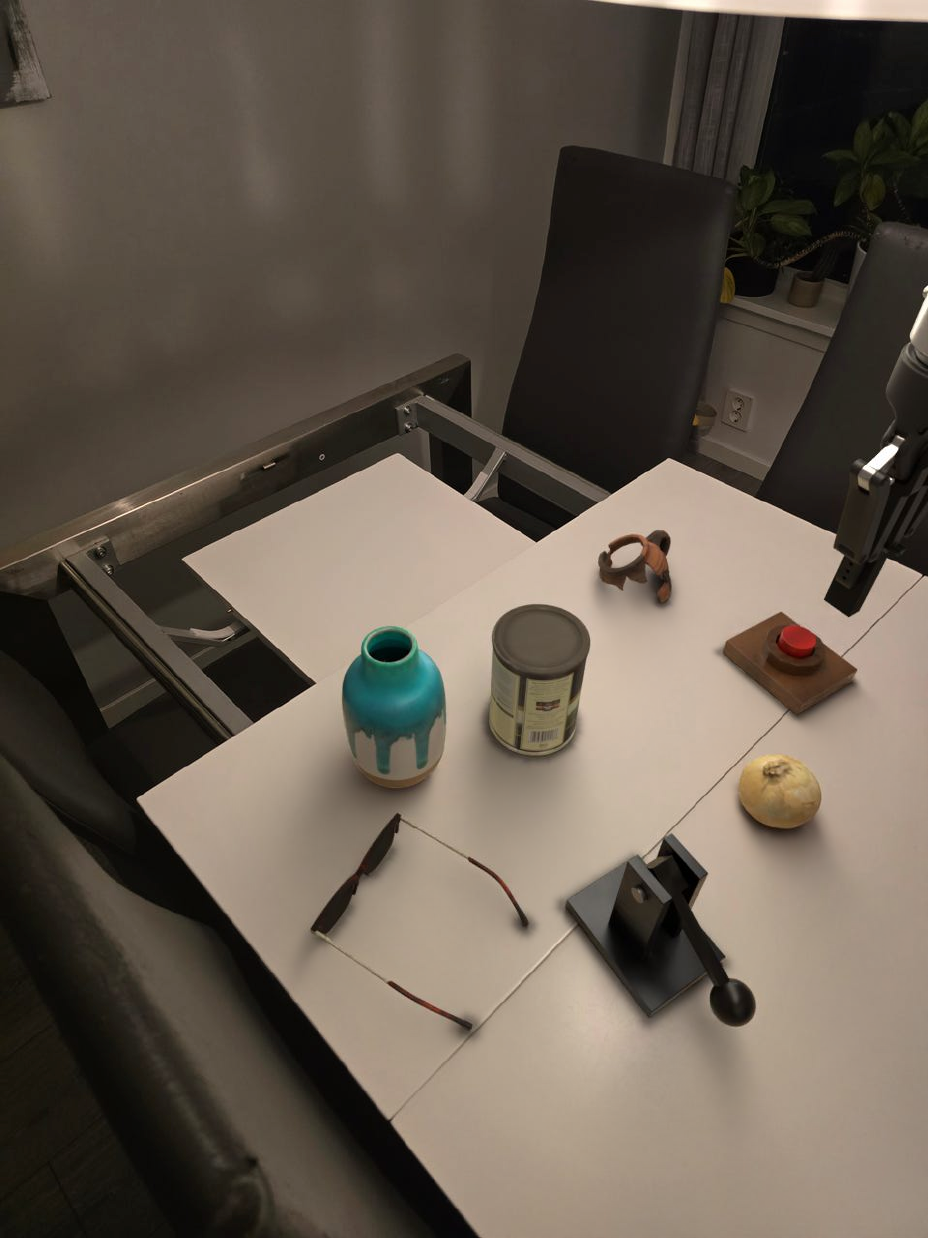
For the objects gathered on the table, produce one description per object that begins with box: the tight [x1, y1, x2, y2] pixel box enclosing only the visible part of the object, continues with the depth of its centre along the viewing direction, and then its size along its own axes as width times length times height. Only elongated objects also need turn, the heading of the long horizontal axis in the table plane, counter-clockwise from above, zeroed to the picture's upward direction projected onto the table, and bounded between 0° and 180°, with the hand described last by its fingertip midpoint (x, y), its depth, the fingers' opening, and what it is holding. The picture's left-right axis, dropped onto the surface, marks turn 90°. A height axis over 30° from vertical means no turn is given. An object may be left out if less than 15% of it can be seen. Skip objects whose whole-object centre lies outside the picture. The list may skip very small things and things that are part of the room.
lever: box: [645, 855, 757, 1028], centre depth 65 cm, size 14×4×4 cm, turn 32°
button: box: [778, 625, 816, 659], centre depth 95 cm, size 4×4×2 cm
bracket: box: [565, 833, 726, 1018], centre depth 69 cm, size 12×9×13 cm
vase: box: [341, 625, 448, 789], centre depth 80 cm, size 11×11×19 cm
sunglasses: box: [309, 812, 530, 1030], centre depth 72 cm, size 14×16×5 cm
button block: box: [722, 611, 859, 716], centre depth 97 cm, size 12×10×4 cm
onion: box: [738, 754, 822, 830], centre depth 81 cm, size 8×8×7 cm
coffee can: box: [488, 603, 591, 757], centre depth 87 cm, size 10×10×14 cm
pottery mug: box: [597, 529, 673, 604], centre depth 108 cm, size 12×10×8 cm
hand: (841, 605), depth 69 cm, fingers closed
